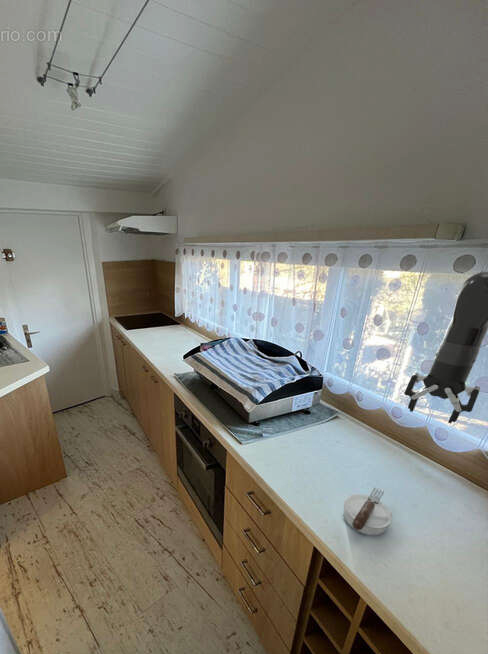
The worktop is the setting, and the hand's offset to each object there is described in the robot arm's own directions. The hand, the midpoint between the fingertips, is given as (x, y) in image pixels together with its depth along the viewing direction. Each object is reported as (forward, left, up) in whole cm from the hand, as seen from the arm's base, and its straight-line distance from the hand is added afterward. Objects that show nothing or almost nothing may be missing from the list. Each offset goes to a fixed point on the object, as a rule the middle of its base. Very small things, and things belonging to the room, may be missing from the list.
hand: (430, 416), depth 82 cm
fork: (+14, +17, -21) cm, 30 cm away
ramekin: (+14, +17, -26) cm, 34 cm away
